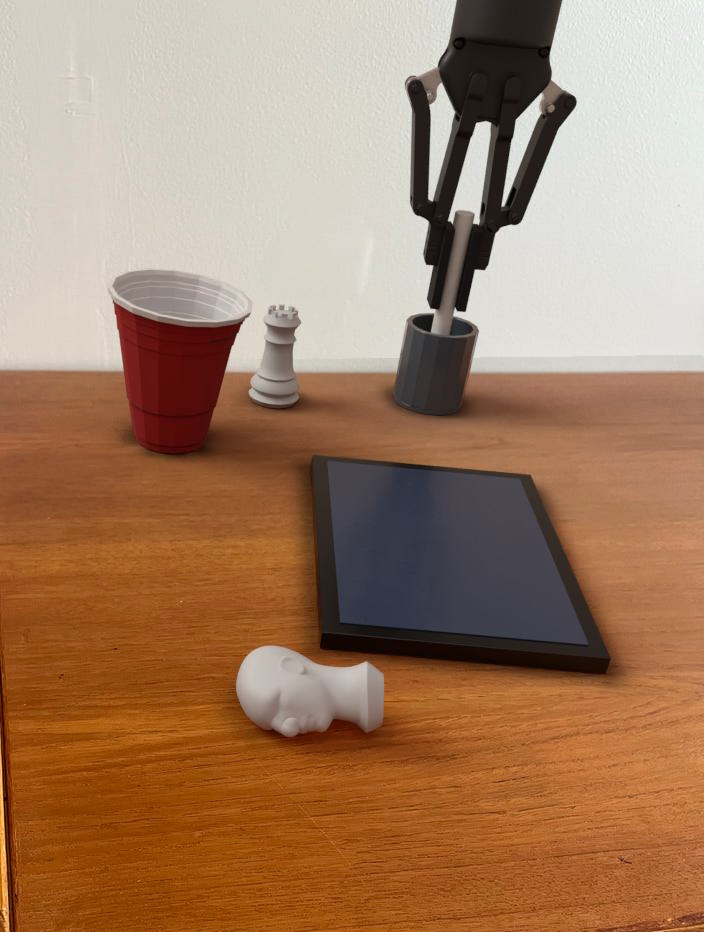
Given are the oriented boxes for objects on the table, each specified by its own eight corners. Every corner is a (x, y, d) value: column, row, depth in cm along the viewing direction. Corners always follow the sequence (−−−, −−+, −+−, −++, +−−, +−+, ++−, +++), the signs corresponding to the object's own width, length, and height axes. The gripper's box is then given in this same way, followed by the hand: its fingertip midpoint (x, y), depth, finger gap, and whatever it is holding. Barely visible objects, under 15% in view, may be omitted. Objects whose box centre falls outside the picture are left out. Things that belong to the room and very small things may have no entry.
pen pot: (456, 391, 96) (472, 316, 92) (466, 418, 91) (483, 340, 87) (390, 385, 96) (403, 310, 92) (396, 411, 91) (410, 333, 87)
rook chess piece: (300, 393, 93) (311, 304, 88) (296, 412, 89) (307, 320, 84) (251, 387, 93) (260, 297, 88) (244, 406, 89) (253, 314, 85)
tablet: (527, 488, 80) (531, 473, 80) (605, 674, 61) (612, 657, 60) (310, 468, 80) (312, 453, 80) (319, 648, 61) (322, 631, 60)
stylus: (435, 391, 94) (473, 211, 85) (437, 398, 92) (476, 215, 83) (417, 389, 94) (454, 209, 85) (419, 396, 92) (456, 213, 83)
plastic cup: (220, 480, 77) (233, 322, 70) (84, 453, 79) (84, 297, 72) (254, 425, 86) (269, 280, 79) (131, 402, 88) (135, 258, 81)
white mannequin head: (222, 741, 55) (250, 667, 58) (369, 778, 53) (390, 700, 56) (219, 695, 52) (249, 619, 55) (376, 733, 50) (398, 652, 53)
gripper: (418, -27, 72) (364, 311, 85) (627, -6, 72) (539, 328, 85) (407, -32, 78) (358, 284, 91) (600, -13, 78) (522, 300, 92)
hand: (446, 305), depth 88 cm, fingers closed on stylus, 1 cm apart
